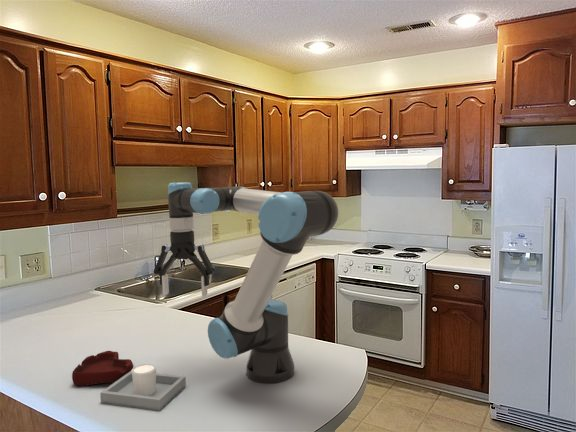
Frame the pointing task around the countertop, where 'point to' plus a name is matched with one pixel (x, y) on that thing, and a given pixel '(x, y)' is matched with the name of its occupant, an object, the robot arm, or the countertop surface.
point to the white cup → (144, 379)
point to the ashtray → (101, 369)
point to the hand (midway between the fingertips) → (185, 295)
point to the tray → (126, 396)
